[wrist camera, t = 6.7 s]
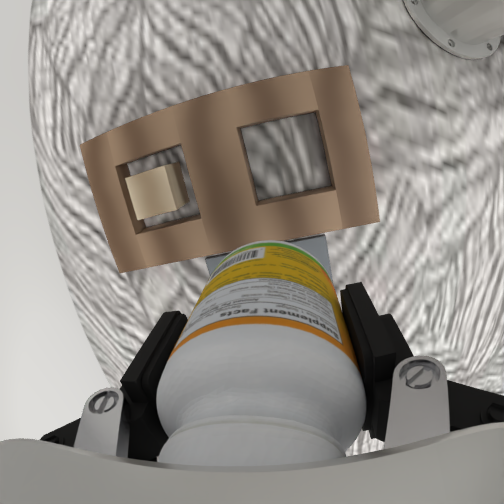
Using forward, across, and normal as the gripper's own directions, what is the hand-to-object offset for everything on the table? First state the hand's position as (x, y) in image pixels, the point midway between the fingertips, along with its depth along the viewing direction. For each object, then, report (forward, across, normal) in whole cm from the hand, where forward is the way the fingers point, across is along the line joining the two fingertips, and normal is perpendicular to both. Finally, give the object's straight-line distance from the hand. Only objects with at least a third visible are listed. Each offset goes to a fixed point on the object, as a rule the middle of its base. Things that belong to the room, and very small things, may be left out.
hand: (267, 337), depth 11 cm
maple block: (+20, +10, -5) cm, 23 cm away
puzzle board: (+20, +4, -5) cm, 21 cm away
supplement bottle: (+3, 0, 0) cm, 3 cm away
